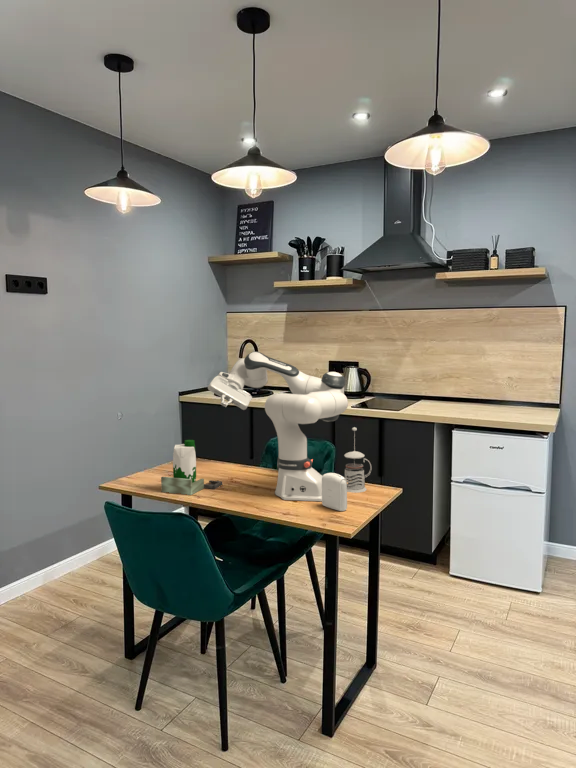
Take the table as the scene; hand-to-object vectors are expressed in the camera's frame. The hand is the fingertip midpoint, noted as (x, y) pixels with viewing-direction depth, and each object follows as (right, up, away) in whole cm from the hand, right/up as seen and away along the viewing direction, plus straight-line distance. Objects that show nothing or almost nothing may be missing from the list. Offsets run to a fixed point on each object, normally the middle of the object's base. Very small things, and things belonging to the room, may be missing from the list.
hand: (223, 405), depth 237 cm
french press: (+56, -33, -25) cm, 70 cm away
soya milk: (-12, -33, -24) cm, 43 cm away
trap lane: (-12, -33, -21) cm, 41 cm away
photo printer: (+45, -35, -49) cm, 75 cm away
